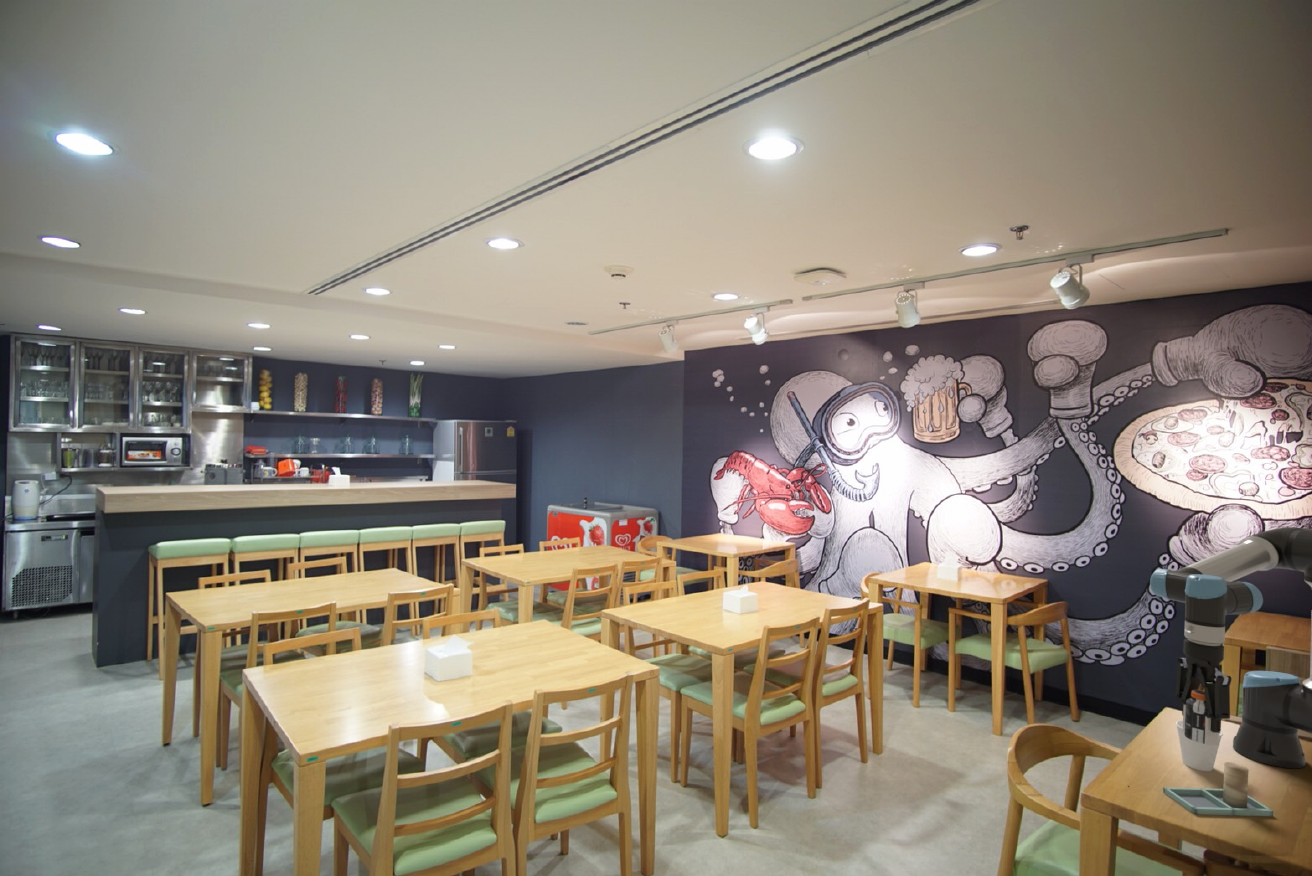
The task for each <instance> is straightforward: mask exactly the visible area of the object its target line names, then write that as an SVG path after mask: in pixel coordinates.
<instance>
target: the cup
mask: <svg viewBox="0 0 1312 876" xmlns="http://www.w3.org/2000/svg"><path fill="white" fill-rule="evenodd" d="M1175 726H1176V729H1177V734H1178V740H1179V748H1180V754H1181V762H1182V765H1185V766H1186V767H1188V768H1191V769H1194V770H1198V771H1202V772H1212V771H1213V770H1214V766H1215V764H1216V763H1215V762H1216V759H1217V754H1218V752H1219V751H1218V750H1219V747H1220V743H1221V740H1222V737H1223V736H1224V733H1223V731H1222V730H1221V731H1220V733H1219V745H1206V744H1201V743H1197V742H1194V741H1192V740H1190V739H1188V738H1187V737H1186V736H1185V734H1184V733H1185V732H1183V719H1181V720H1177V721H1176V722H1175Z"/></svg>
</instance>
